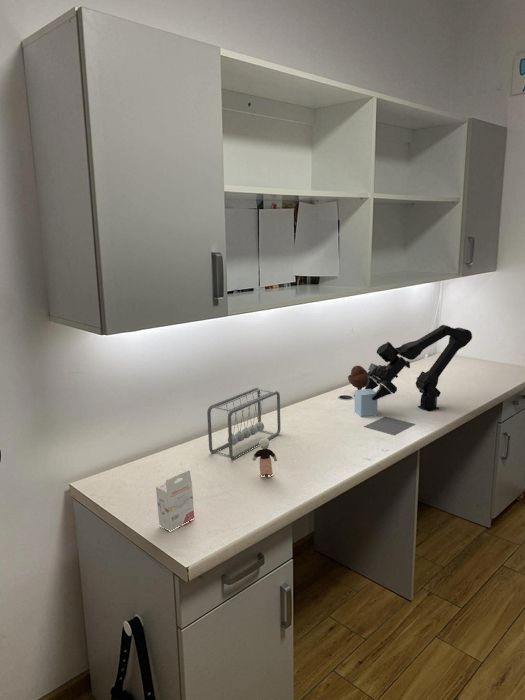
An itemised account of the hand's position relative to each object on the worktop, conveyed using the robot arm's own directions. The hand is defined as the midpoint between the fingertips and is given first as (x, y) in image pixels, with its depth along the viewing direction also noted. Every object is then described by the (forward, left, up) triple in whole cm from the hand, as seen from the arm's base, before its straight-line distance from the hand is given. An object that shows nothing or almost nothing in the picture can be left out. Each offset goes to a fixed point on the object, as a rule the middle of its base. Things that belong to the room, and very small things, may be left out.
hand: (368, 396), depth 220 cm
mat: (+2, +16, -8) cm, 18 cm away
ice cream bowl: (-13, -22, -8) cm, 27 cm away
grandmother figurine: (+65, +29, -8) cm, 71 cm away
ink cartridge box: (+99, +42, -8) cm, 108 cm away
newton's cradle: (+58, +2, -8) cm, 59 cm away
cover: (+1, 0, -8) cm, 8 cm away
